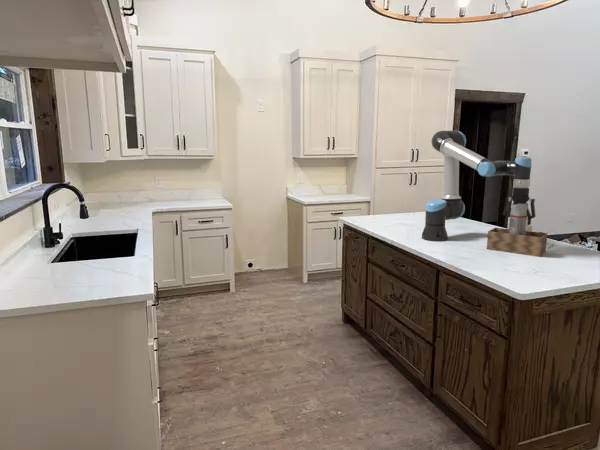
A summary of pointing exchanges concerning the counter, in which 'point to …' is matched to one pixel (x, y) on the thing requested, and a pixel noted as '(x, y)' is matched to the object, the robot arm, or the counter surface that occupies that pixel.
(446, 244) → the counter surface
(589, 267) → the counter surface
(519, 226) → the spray can
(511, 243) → the wooden box
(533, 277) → the counter surface
